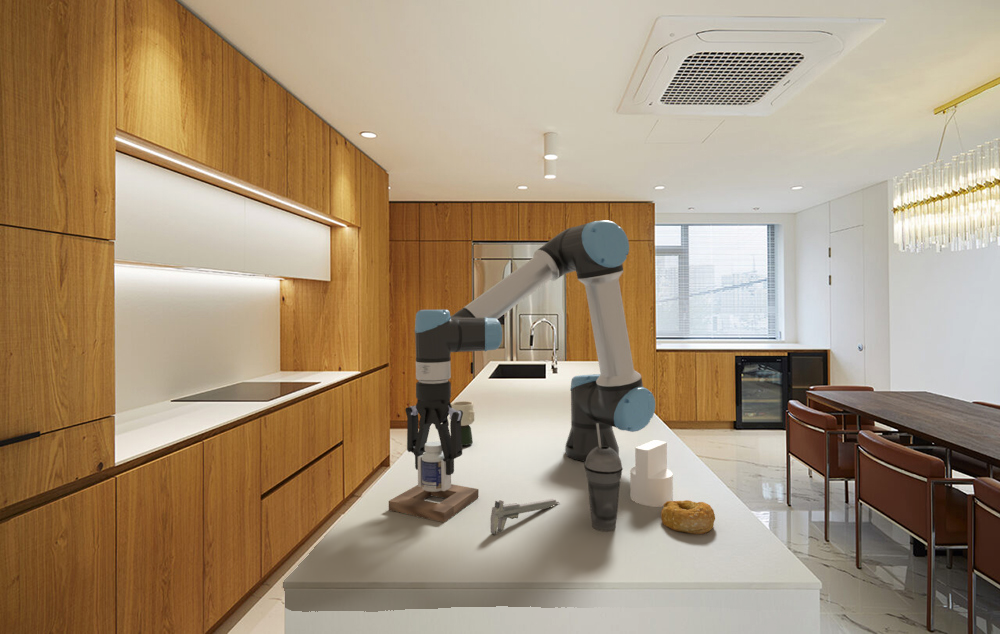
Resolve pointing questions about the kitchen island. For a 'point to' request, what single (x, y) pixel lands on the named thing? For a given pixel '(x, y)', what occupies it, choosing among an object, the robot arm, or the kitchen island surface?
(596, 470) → the beverage cup
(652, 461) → the cylinder with rectangular tab
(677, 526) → the bagel
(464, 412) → the character mug
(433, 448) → the pill bottle
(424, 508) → the holder block
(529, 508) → the caliper
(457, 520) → the kitchen island surface
